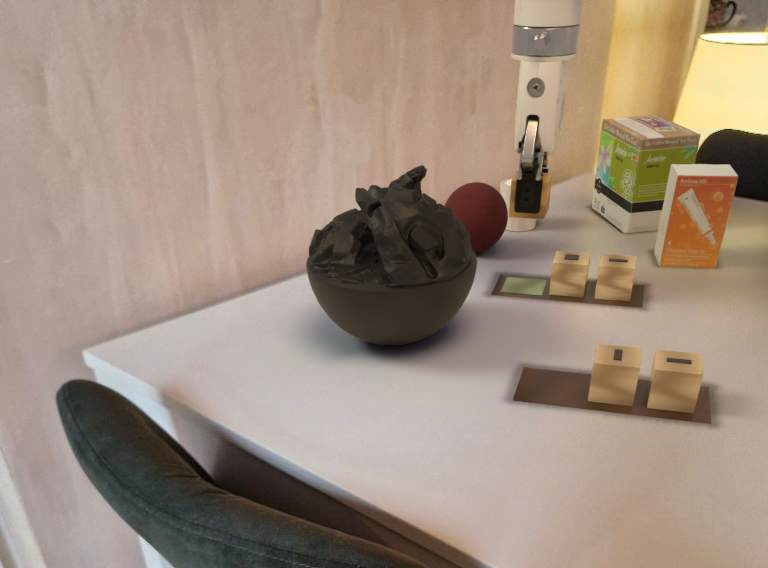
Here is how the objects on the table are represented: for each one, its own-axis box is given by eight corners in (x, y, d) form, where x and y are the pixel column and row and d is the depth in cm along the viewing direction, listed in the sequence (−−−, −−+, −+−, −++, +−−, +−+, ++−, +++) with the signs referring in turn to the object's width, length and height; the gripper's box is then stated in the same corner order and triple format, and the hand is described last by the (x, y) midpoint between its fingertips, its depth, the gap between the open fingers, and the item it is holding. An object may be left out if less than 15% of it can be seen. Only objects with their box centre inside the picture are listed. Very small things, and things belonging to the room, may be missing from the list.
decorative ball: (437, 260, 116) (438, 192, 110) (445, 238, 124) (446, 173, 118) (503, 262, 115) (508, 193, 109) (507, 240, 123) (511, 175, 116)
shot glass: (496, 232, 126) (499, 187, 122) (498, 219, 131) (501, 176, 127) (538, 233, 125) (543, 188, 121) (538, 220, 130) (542, 176, 126)
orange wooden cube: (548, 209, 101) (552, 172, 98) (544, 219, 98) (548, 181, 95) (514, 206, 102) (517, 170, 99) (508, 217, 99) (511, 179, 96)
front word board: (708, 390, 82) (719, 347, 79) (710, 428, 76) (723, 383, 73) (523, 370, 87) (526, 329, 84) (511, 404, 81) (515, 361, 78)
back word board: (643, 288, 105) (650, 251, 102) (642, 311, 99) (649, 273, 96) (500, 277, 110) (502, 241, 107) (490, 298, 104) (492, 261, 101)
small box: (658, 269, 111) (676, 174, 103) (652, 254, 116) (670, 162, 108) (716, 271, 110) (739, 175, 102) (708, 255, 115) (730, 163, 107)
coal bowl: (368, 392, 84) (360, 218, 73) (285, 331, 98) (267, 175, 86) (507, 344, 93) (519, 181, 81) (412, 294, 106) (411, 148, 95)
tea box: (588, 209, 134) (601, 116, 125) (642, 205, 135) (658, 112, 126) (625, 236, 122) (641, 136, 113) (683, 231, 124) (704, 131, 115)
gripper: (570, 53, 81) (550, 228, 92) (584, 34, 94) (566, 190, 105) (499, 52, 83) (489, 224, 94) (523, 34, 95) (511, 187, 107)
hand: (530, 204), depth 99 cm, fingers closed on orange wooden cube, 4 cm apart
